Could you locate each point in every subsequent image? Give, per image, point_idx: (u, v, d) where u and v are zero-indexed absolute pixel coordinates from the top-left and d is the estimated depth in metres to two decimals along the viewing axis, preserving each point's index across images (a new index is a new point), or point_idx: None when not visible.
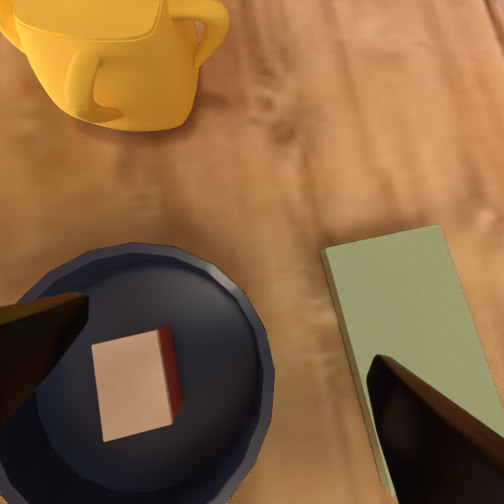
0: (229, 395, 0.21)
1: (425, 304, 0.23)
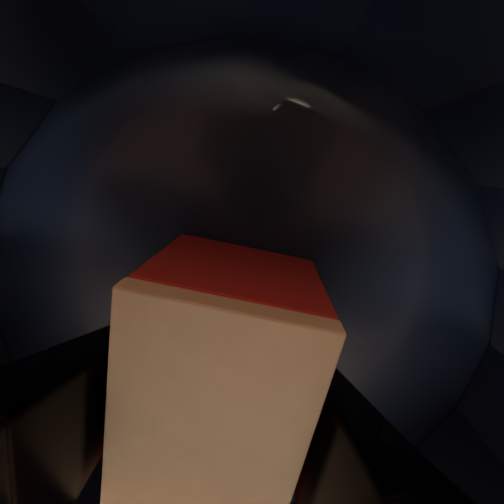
0: None
1: None
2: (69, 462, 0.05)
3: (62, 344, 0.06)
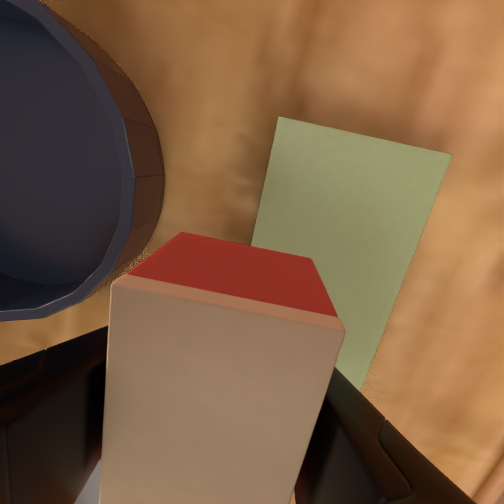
0: (106, 232, 0.19)
1: (360, 243, 0.18)
2: (69, 462, 0.05)
3: (62, 344, 0.06)
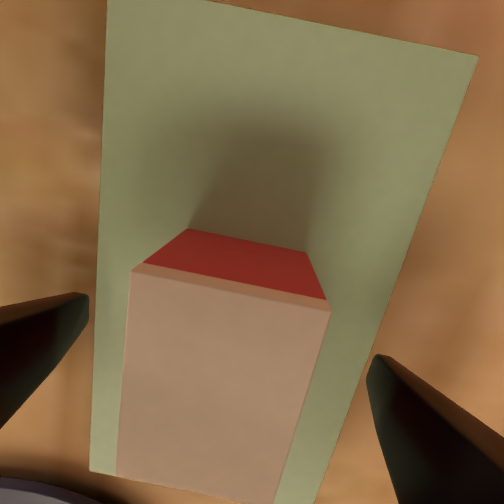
0: None
1: (299, 245, 0.09)
2: None
3: None
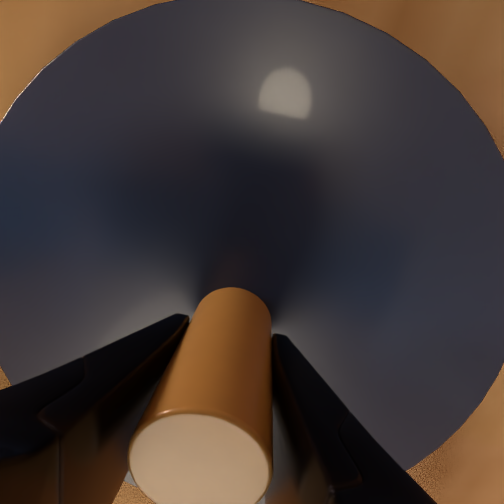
0: None
1: None
2: (107, 470, 0.05)
3: (97, 351, 0.06)
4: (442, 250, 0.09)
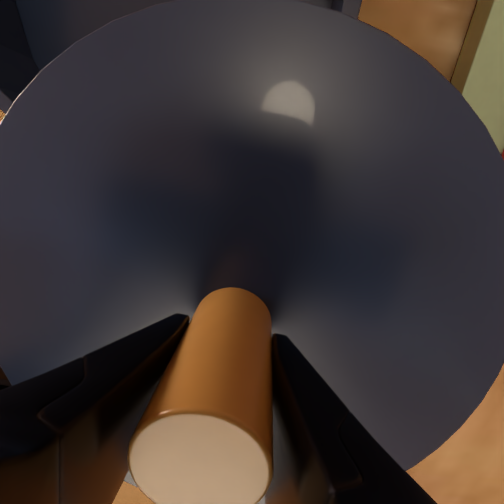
0: None
1: None
2: (107, 470, 0.05)
3: (97, 351, 0.06)
4: (442, 250, 0.09)
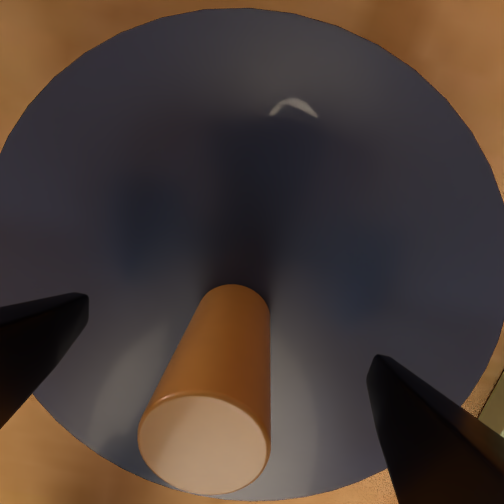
0: None
1: None
2: None
3: None
4: (432, 248, 0.09)
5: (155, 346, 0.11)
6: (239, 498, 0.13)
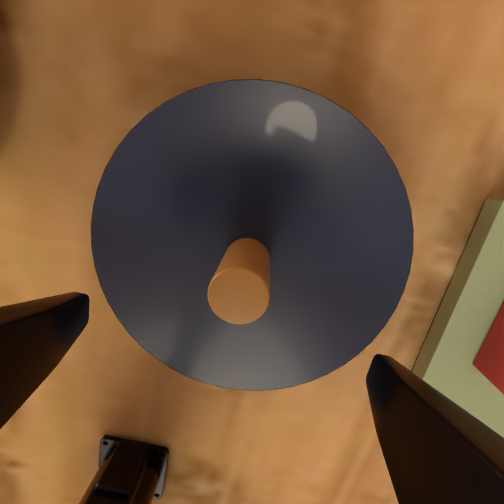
0: None
1: None
2: None
3: None
4: (365, 215, 0.15)
5: (197, 280, 0.17)
6: (249, 388, 0.19)
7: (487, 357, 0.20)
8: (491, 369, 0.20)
